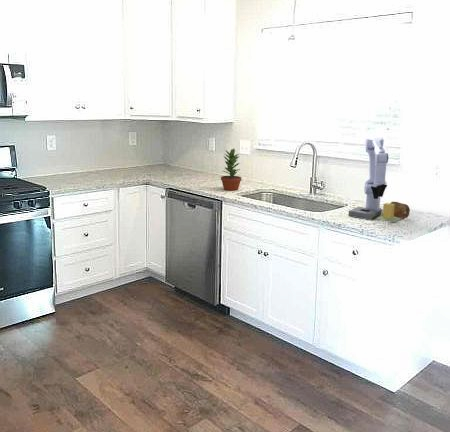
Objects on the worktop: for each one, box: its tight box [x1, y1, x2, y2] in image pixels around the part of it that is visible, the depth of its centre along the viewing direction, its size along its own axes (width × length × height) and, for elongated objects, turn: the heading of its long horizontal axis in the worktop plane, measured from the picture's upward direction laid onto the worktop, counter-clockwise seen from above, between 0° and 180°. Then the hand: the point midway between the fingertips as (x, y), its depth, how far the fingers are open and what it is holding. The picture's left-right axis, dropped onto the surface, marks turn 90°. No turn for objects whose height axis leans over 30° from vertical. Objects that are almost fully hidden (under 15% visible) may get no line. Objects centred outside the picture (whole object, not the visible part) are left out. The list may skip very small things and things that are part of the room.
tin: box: [389, 201, 411, 220], centre depth 295 cm, size 15×3×8 cm, turn 24°
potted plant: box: [220, 147, 242, 192], centre depth 362 cm, size 15×15×30 cm
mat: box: [375, 214, 402, 223], centre depth 290 cm, size 11×11×1 cm
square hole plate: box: [348, 206, 382, 221], centre depth 297 cm, size 14×14×3 cm
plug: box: [381, 202, 395, 219], centre depth 290 cm, size 4×5×8 cm
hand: (378, 197), depth 296 cm, fingers open, 7 cm apart
